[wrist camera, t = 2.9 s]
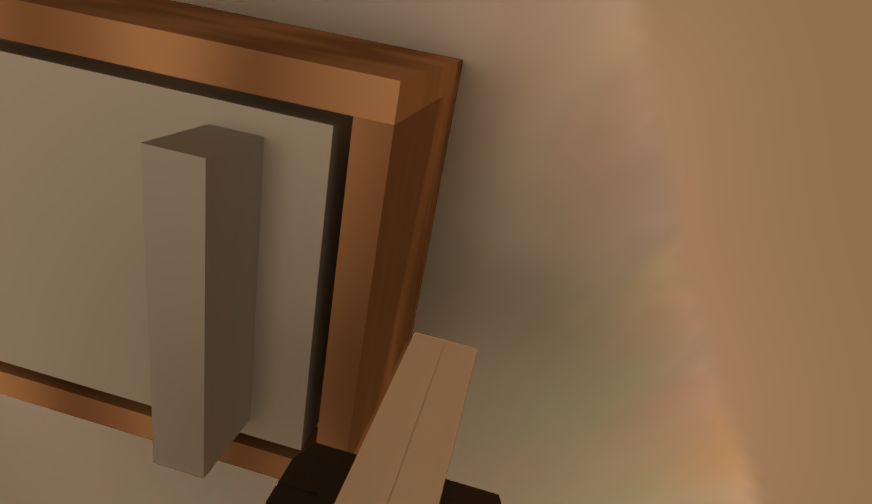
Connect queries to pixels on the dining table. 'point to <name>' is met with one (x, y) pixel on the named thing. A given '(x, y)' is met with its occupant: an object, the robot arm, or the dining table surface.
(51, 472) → the dining table surface
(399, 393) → the robot arm
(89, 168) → the slate lid
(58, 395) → the walnut box
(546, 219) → the dining table surface
